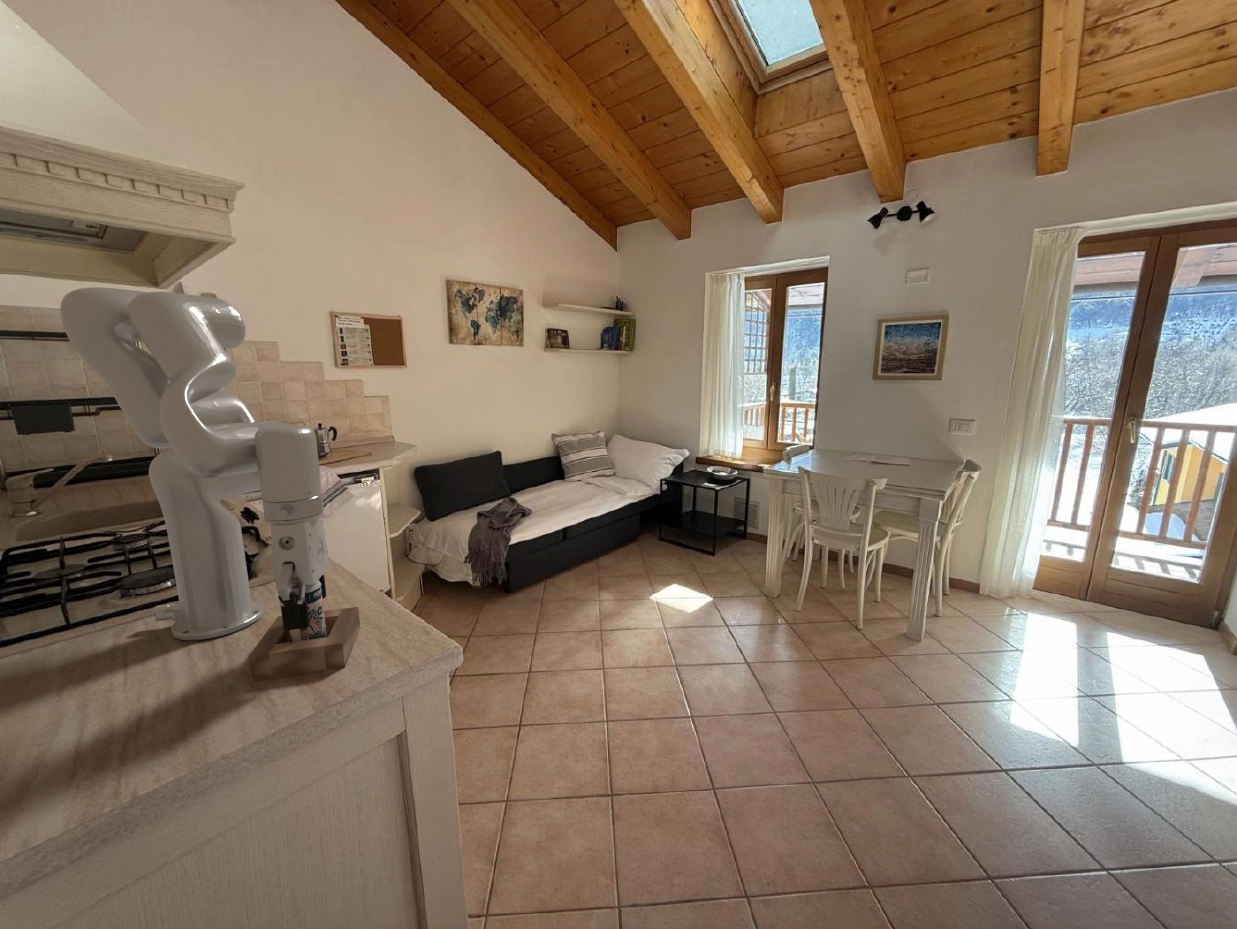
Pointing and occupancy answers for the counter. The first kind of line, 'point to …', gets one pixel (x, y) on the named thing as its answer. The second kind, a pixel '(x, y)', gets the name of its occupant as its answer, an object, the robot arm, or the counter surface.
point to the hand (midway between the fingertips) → (306, 612)
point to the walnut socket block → (305, 647)
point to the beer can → (311, 615)
